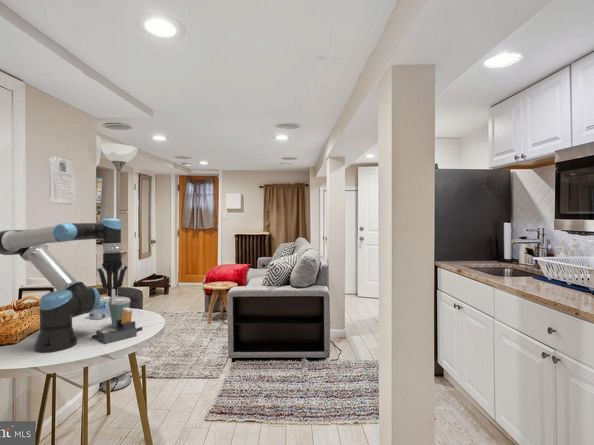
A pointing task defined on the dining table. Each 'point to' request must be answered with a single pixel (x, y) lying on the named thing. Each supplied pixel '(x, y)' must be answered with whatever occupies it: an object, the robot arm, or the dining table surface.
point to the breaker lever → (126, 315)
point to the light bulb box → (101, 309)
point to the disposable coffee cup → (118, 308)
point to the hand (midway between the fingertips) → (112, 303)
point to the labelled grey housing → (117, 332)
